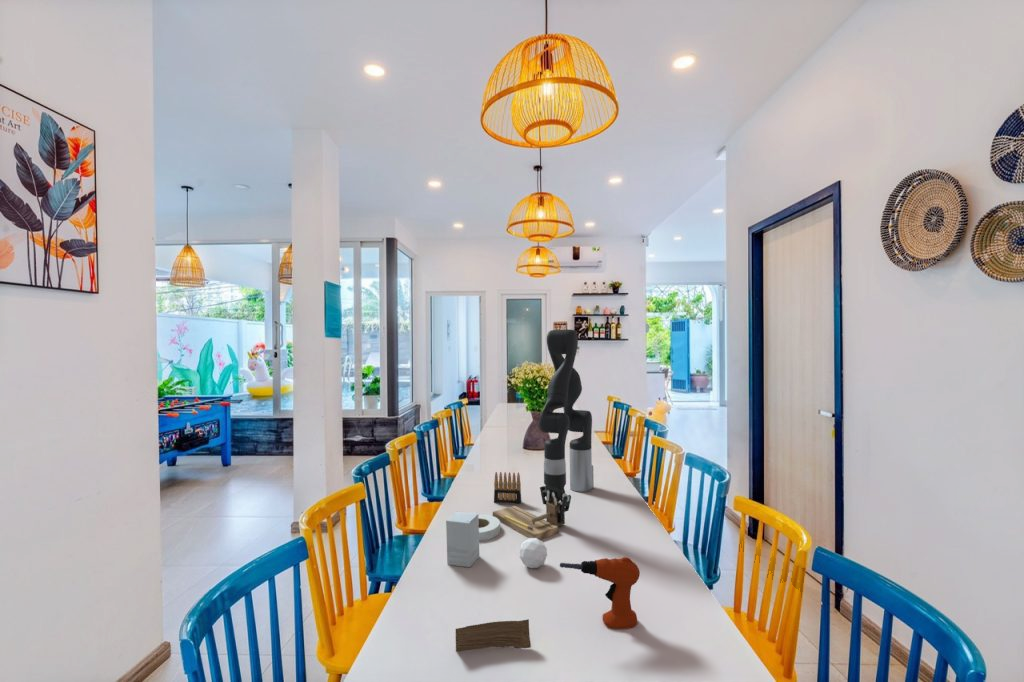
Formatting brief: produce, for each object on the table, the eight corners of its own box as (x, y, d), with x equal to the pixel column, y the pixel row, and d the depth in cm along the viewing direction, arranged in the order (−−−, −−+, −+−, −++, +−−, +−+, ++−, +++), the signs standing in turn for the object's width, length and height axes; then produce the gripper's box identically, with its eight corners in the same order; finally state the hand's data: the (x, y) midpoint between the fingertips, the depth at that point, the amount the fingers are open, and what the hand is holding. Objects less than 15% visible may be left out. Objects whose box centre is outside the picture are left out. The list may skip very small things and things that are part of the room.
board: (515, 511, 168) (514, 505, 168) (558, 532, 149) (558, 526, 149) (492, 517, 162) (492, 511, 162) (534, 541, 143) (534, 534, 143)
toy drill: (552, 612, 103) (559, 546, 103) (632, 618, 104) (639, 553, 104) (555, 625, 98) (563, 557, 98) (639, 632, 99) (647, 564, 99)
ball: (540, 577, 126) (552, 561, 122) (514, 569, 125) (525, 553, 121) (540, 552, 133) (551, 536, 129) (515, 545, 132) (525, 528, 128)
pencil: (505, 517, 157) (505, 515, 157) (532, 529, 147) (532, 527, 147) (503, 518, 156) (503, 515, 156) (530, 530, 146) (530, 527, 146)
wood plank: (455, 656, 91) (455, 631, 91) (455, 649, 93) (455, 625, 93) (530, 648, 93) (530, 624, 93) (529, 641, 95) (528, 618, 95)
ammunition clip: (521, 502, 177) (521, 471, 177) (520, 503, 175) (520, 472, 175) (494, 501, 179) (494, 470, 179) (493, 502, 177) (493, 472, 177)
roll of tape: (445, 535, 148) (444, 527, 148) (470, 519, 162) (470, 511, 162) (485, 545, 141) (485, 536, 141) (508, 527, 155) (508, 518, 155)
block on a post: (556, 519, 158) (555, 500, 158) (564, 524, 154) (564, 503, 154) (528, 529, 151) (528, 508, 151) (536, 533, 147) (536, 512, 147)
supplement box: (480, 556, 133) (479, 513, 133) (469, 568, 126) (469, 523, 126) (457, 552, 136) (456, 510, 136) (446, 564, 129) (445, 520, 129)
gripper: (577, 473, 151) (578, 524, 151) (549, 464, 163) (550, 511, 163) (560, 477, 147) (561, 530, 147) (533, 467, 158) (533, 516, 158)
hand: (555, 520), depth 155 cm, fingers closed on block on a post, 4 cm apart
